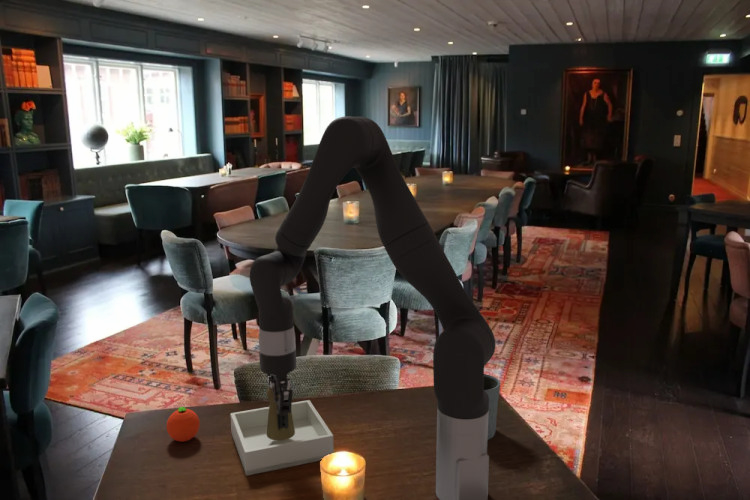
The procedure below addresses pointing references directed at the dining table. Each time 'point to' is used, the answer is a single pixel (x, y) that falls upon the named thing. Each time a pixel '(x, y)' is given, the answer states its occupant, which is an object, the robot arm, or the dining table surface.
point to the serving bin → (277, 454)
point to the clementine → (183, 424)
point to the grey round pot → (492, 402)
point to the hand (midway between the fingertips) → (280, 423)
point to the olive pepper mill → (272, 421)
